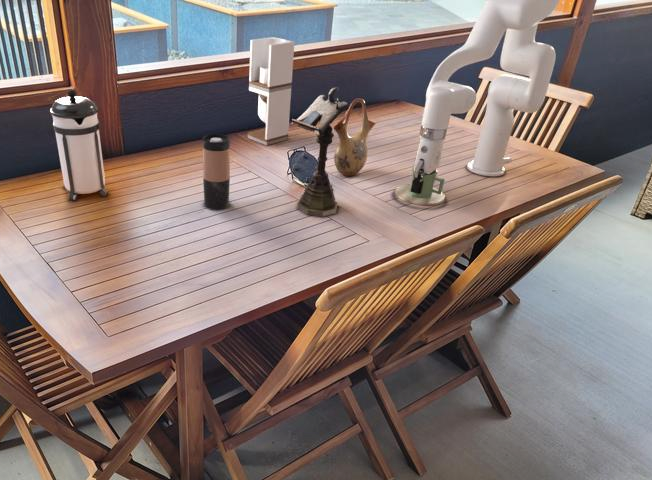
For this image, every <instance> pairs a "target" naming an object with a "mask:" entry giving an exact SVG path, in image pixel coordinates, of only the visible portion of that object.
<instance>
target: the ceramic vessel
mask: <svg viewBox="0 0 652 480" xmlns="http://www.w3.org/2000/svg"><path fill="white" fill-rule="evenodd" d="M357 103H360V104H361V108H362V121H361V126H360V129H359V130H358V132H356V134H354V135H349V134H348V124H349V120H350V117H351V114H352V111H353V108H354V106H355V105H356V104H357ZM366 107H367V106H366V101H365V100H364V99H363V98H360V97H357V98H355V99H353V101H351V103H350V104H349V106H348V109H347V110H346V112H345V114H344V116H342V118H341V119H340V120H339V121H338V122H337V123H336V125H334V126H333V131H335V132H336V134H337V136H338V140H339V142H338V144H337V146H336V148H335V151H334V156H333V157H334V158H333V161H334V166H335V168H336V170H337V172H339V174H341V175H342V176H344V177H345V176H346V177H351V176H355V175H357V174H358V173H359V172H360V171H361V170H362V169H363V168H364V166H365V165H366V163H367V160H368V156H369V149H368V143H367V139H368V136H369V134H370V131H372V128H373V127H374V126H375V125H376V122H374V121H371V120H369V117H368V112H367V108H366Z"/></svg>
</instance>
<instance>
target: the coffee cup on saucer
mask: <svg viewBox="0 0 652 480" xmlns="http://www.w3.org/2000/svg"><path fill="white" fill-rule="evenodd" d="M421 171H424V170H422V169H421ZM411 173H412V174H411V178H410V183H407V184H402V185H399V186H397V187H396V189H395V191H394V194H395V196H396V197H397V198H398V199H399V200H401V201H404V202H406V203H409V204H413V205H417V206H427V207H429V206H437V205H440V204H442V203H443V202H444V201H445V199H446V195H445V194H444V193H443V189H444V184H445V178H441V177H437V176H438V174H439V171H438V170H437V169H435V170H434V171H433V172H432V173H430V174H427V173H425V176H424V178H423V181H424V182H423V187H422V191H421V194H417V193H413V192H411V186H412V181H413V177H414V176H413V175H414V166H413V167H412V169H411ZM419 174H420V175H421V176H422V174H421V173H419ZM435 181H437V182H439V186H438V188H436V187H435Z"/></svg>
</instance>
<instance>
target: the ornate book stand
mask: <svg viewBox="0 0 652 480" xmlns="http://www.w3.org/2000/svg"><path fill="white" fill-rule="evenodd" d="M339 89H340V88H339V86H338V87H337V86H336V87H332V88H331V89H330V90H329V92H328V99H327V100H325V98H326V95H324V94H320V95H319V96H318V97H317V98H315V100H314V101H313V102H312V104H310V105H309V107H308V108H307V109H306V110H305V111H304V112H303V113H302V114H301V115H300V116H299V117H298V118H296V119H295V118H292V119H291V122H292V123H291V124H290V126H291V127H292V126H293V125H294V124H297V127H299V128H301V129H303V130H305V131H309V132H312V133H315V136H316V140H315V141H316V143H317V144H318V146H319V149H318V156H317V158H316V160H317V169H316V170H315V171H314V172H313V174H312V178H311V179H310V181H309V182H307V184H306V186H305V188H304V191H303V194H301V197H300V198H299V200H298V203H297V210H299V211H301V212H302V213H304V214H306V215H308V216H314V217H327V216H331V215H334V214H336V213H337V208H338V202H337V201H336V197H335V193H334V191H335V190H334V188H333V185H332V184H331V182H330V177H329V173H328V172H327V171H326V166H327V165H326V162H328V159H329V158H328V157H327V155H328V147H329V146H330V145H332V143H333V138H334V137H335V133H334V132H333V131H334V128H333V127H332V126H331V124H333V122H334V121H335V120H337V118H338V117H339V116H340V115H341V114H342V113H343V112H344V111H345V110H346V109H347V107H349V106H348V105H349V104H348V103H347V102H346V101H339V98H338V97H337V98H335V95H336V93H337V92H338V91H339ZM317 125H318V126H317ZM315 131H316V132H315Z"/></svg>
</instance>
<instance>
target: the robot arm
mask: <svg viewBox="0 0 652 480" xmlns="http://www.w3.org/2000/svg"><path fill="white" fill-rule="evenodd" d="M560 1H561V0H486V1H485V4H484V5H483V8H482V9H481V11H480V13H479V15H478V17H477V20H476V21H475V23H474V25H473V27H472V30H471V31H470V33H469V36H468V38H467V39H466V41H465V43H464V44H463V45H462V46H461V47H459V48H458V49H456V50H455V51H453V52H452V53H450V54H449V55H448V56H447V57H446V58H444V59H443V60H442V61H441V62H440V64H439V65H437V67H436V70H435V72H434V73H433V75H432V77H431V79H430V82H429V84H428V86H427V89H426V91H425V93H426V94H425V103H424V108H423V114H422V118H421V119H422V120H421V122H420V123H421V124H420V129H419V134H418V137H419V138H420V141H419V144H418V148H417V153H416V155H415V161H414V166H413V167H414V175H413V176H414V177H413V181H412V186H411V192H413V193H417V194H421V191H422V187H423V182H424V181H423V178H424V176H425V173H427V174H430V173H432V172H433V171H434V170H435V169H436V170H437V169H438V168H439V167H440V164H441V159H442V155H443V148H444V141H445V140H446V137H447V133H448V128H449V124H450V119H451V116H452V115H453V114H456V115H457V114H459V115H461V114H465V113H467V112H469V111H471V110H472V109H473V108H474V106H475V104H476V102H477V93H476V91H475V90H474V89H473V88H472V87H470V86H468V85H464V84H460V83H456V82H450V81H449V79H450V78H451V77H452V75H453V74H454V73H455V72H457V71H458V70H459V69H461V68H463V67H465V66H468V65H472V64H475V63H478V62H483V61H486V60H489V59H490V58H492V57H493V56H494V54H495V52H496V50H497V48H498V46H499V44H500V42H501V40H502V38H503V37H504V40H503V43H502V44H503V45H502V48H501V49H502V50H501V53H500V59H499V64H500V68H501V69H502V70H503V71H505V72H508V73H513V74H518V75H521V76H527V77H529V79H528V78H524V77H520V76H515V75H509V74H501V75H497V76H495V78H493V79H492V80H491V82H490V83H489V86H488V90H487V101H486V107H485V113H484V117H483V121H482V124H481V125H482V126H481V129H480V133H479V137H478V141H477V144H476V149H475V152H474V157H473V160H472V161H469V162H467V165H466V169H467V170H468V171H469V172H471V173H473V174H476V175H480V176H483V177H500V176H503V175H504V174H505V171H506V169H505V167H504V166H505V165H506V164H507V165H508V164H511V163H512V161H513V159H512V157H505V155H506V152H507V147H508V144H509V141H510V138H511V135H512V131H513V128H514V124H515V117H514V116H515V115H514V112H513V110H515V111H519V112H522V113H527V114H534V113H536V112H538V111H539V110H540V109H541V108H542V106H543V104H544V101H545V99H546V96H547V93H548V89H549V86H550V82H551V77H552V75H553V71H554V67H555V64H556V59H557V56H556V54H557V53H556V50H555V48H554V47H553V46H552V45H550V44H547V43H543V42H538V41H537V42H536V34H537V30H538V26H539V23H540V22H542V21H544V19H546V18H548V17H549V16H550V15H551V14H552V13H553V12H554V11H555V10H556V9H557V7H558V5H559V3H560ZM504 35H505V36H504ZM421 169H422V170H424V171H421ZM419 173H421V174H422V176H421V175H420V174H419Z"/></svg>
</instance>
